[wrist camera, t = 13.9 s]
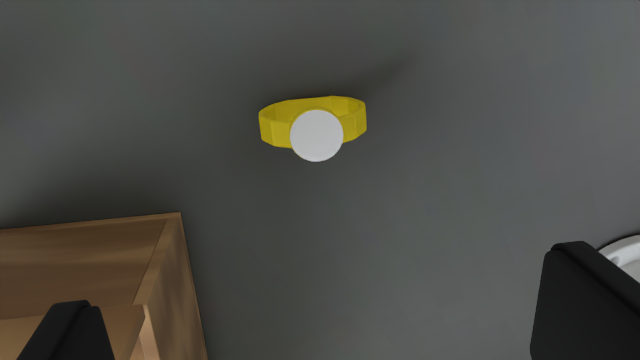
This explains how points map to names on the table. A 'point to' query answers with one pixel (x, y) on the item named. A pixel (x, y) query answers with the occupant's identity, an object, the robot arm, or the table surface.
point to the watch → (313, 125)
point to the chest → (108, 277)
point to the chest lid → (121, 324)
